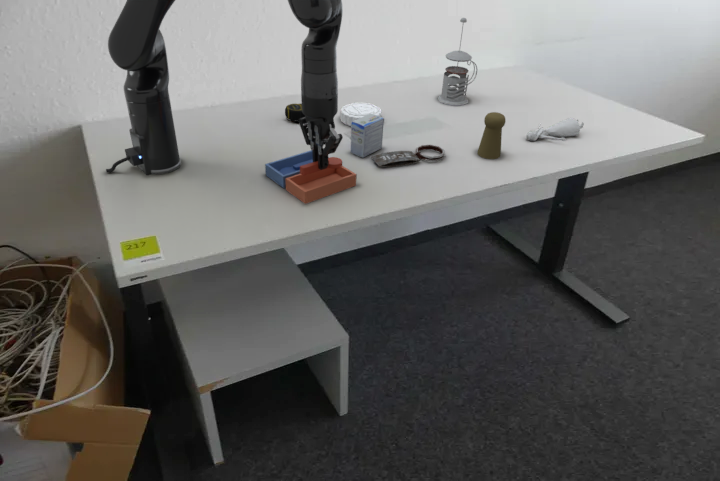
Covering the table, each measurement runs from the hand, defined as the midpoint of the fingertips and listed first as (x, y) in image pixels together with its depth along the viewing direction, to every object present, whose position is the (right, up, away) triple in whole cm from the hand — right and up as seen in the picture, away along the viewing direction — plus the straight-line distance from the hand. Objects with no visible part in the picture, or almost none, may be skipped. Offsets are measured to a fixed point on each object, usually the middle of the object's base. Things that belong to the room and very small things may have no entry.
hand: (320, 166), depth 123 cm
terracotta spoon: (0, 0, +1) cm, 1 cm away
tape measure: (-9, +19, +37) cm, 42 cm away
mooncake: (+9, +18, +37) cm, 43 cm away
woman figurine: (+63, +13, +32) cm, 72 cm away
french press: (+39, +29, +54) cm, 73 cm away
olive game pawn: (+42, +6, +21) cm, 48 cm away
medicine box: (+10, +7, +20) cm, 24 cm away
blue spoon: (-6, 0, +8) cm, 10 cm away
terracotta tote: (0, -4, +3) cm, 5 cm away
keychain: (+21, +4, +17) cm, 28 cm away
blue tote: (-6, 0, +9) cm, 10 cm away
